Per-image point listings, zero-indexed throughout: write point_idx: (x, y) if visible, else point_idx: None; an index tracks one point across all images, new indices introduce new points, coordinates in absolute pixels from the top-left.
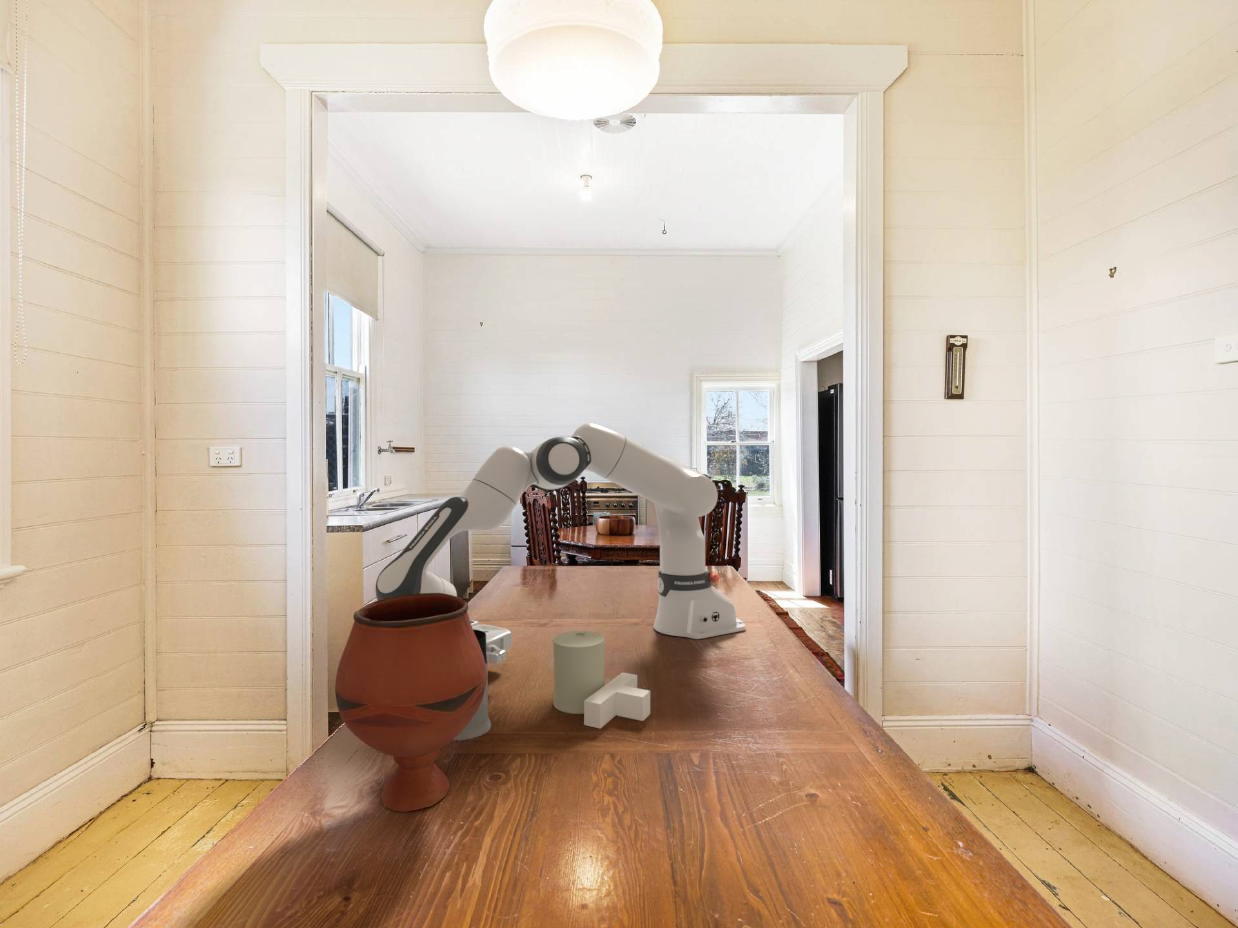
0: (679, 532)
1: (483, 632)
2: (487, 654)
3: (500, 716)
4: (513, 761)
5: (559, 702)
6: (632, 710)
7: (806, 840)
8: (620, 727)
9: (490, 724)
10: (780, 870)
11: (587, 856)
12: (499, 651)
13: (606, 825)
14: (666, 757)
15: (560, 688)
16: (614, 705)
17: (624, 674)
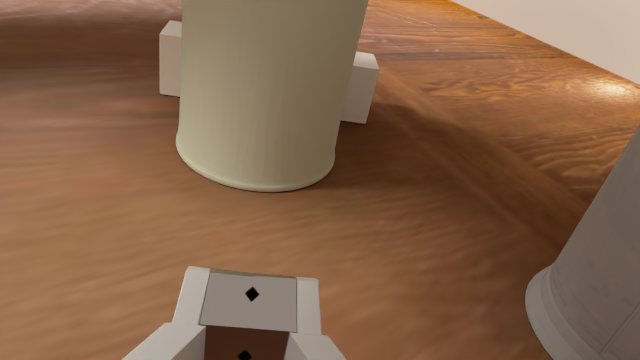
0: None
1: None
2: (335, 350)
3: (475, 277)
4: (579, 177)
5: (333, 149)
6: None
7: (431, 15)
8: None
9: (543, 269)
10: (478, 26)
11: (601, 90)
12: (236, 290)
13: (553, 85)
14: (383, 55)
15: (342, 107)
16: None
17: (175, 32)
